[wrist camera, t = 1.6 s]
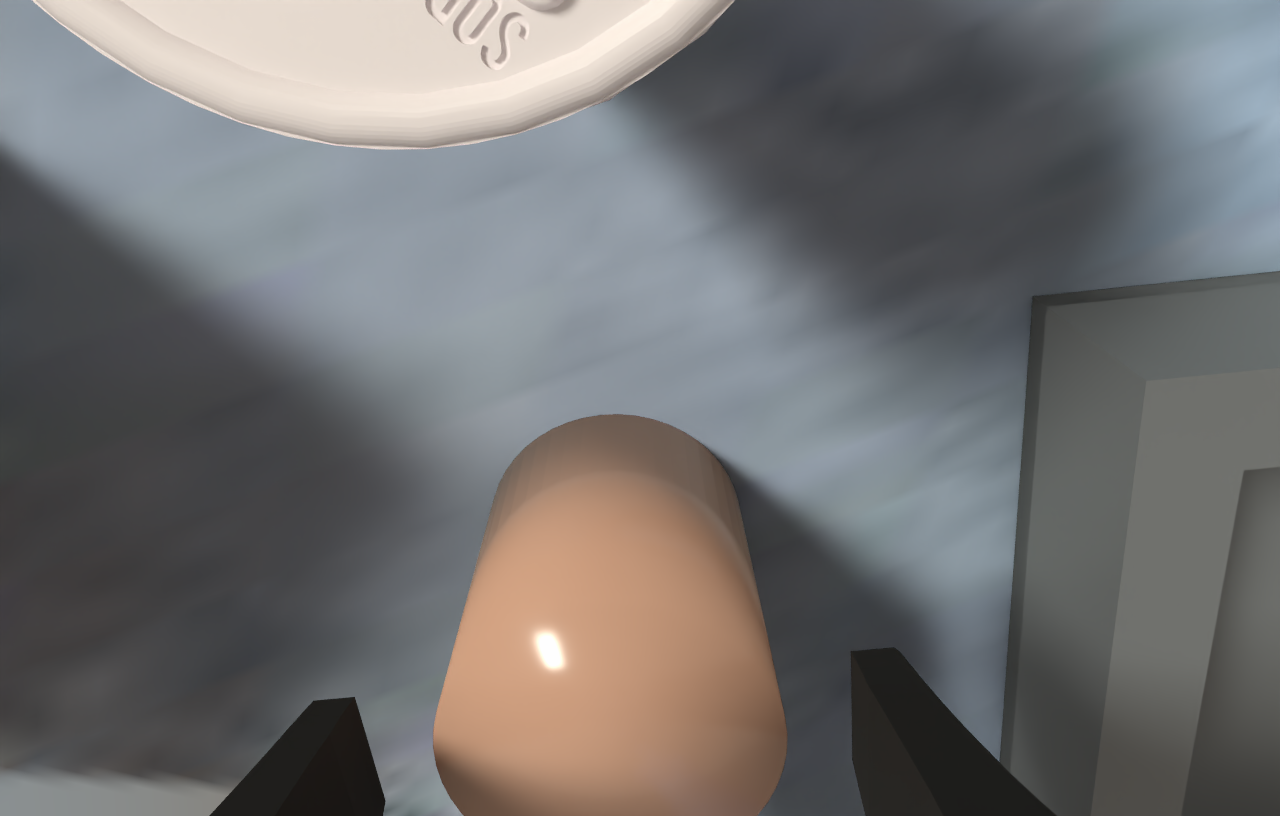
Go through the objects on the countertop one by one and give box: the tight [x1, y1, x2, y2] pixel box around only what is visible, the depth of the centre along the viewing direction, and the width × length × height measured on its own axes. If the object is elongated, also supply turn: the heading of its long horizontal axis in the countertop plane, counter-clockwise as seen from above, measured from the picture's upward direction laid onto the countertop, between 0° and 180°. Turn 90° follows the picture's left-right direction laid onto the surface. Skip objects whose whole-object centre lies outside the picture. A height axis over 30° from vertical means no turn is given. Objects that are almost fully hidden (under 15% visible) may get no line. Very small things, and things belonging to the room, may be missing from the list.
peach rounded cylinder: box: [433, 414, 787, 816], centre depth 16 cm, size 5×5×6 cm
